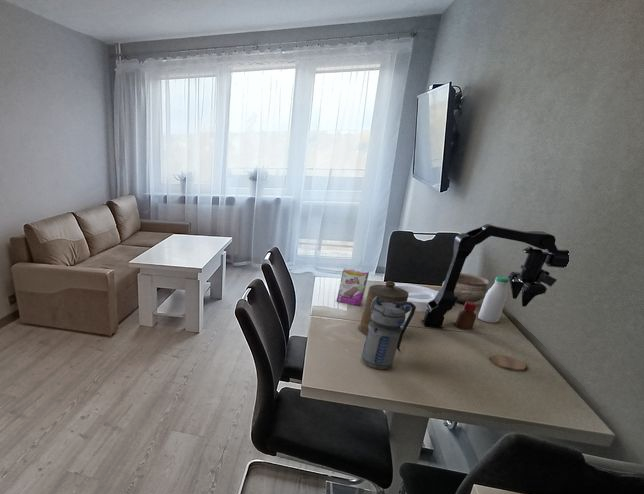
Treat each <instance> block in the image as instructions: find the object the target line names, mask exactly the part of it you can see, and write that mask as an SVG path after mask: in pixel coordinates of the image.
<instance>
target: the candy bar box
mask: <svg viewBox="0 0 644 494" xmlns="http://www.w3.org/2000/svg"><path fill="white" fill-rule="evenodd" d="M369 274H370V272H369V271H367V270H361V269H356V268H355V269H354V268H349V267H344V268H343V270H342V273H341V278H340V282H339V288H338V293H337V298H336V302H337V303H343V304H347V305H352V306H356V307H361V305H362V304H363V300H364V295H365V292H366V287H367V283H368V279H369Z"/></svg>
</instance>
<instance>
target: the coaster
mask: <svg viewBox="0 0 644 494" xmlns="http://www.w3.org/2000/svg"><path fill="white" fill-rule="evenodd" d="M490 360H491V362H492V363H493V364H494V365H496V366H497V367H500V368H502V369H505V370H509V371H513V372H523V371H525V370H526V368H527V365H526V364H525V362H523V361H521V360H519V359H517V358H514V357H511V356H507V355H500V354H499V355H498V354H497V355H493V356H491V359H490Z"/></svg>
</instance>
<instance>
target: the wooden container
mask: <svg viewBox="0 0 644 494" xmlns="http://www.w3.org/2000/svg"><path fill="white" fill-rule="evenodd" d="M395 283H396V282H394V281H392V280H387V281H386V282H385V284H386V285H384V284H373V285H370V286H369V287H368V291H367V295H366V299H365V303H364V307H363V310H362V315H361V318H360V323H359V330H360V331H361V333H363V334H365V335H367V332H368V327H369V323H370V322H371V321H372V319H371V314H372V312H371V304H372V300H373V299H374V298H375V297H376V296H379V300H389V303H392V302H391V301H394V302H403V301H406V302H407V299H408V295H409V294H408V292H407V291H405V290H403V289H401V288H398V287H394V286H395ZM400 306H401V307H403V305H400Z"/></svg>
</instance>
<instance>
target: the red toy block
mask: <svg viewBox="0 0 644 494" xmlns="http://www.w3.org/2000/svg"><path fill="white" fill-rule="evenodd" d="M477 305H478V304H477V302H470V301H466V302H465V304H463V309H462V310H466V311H471V312H474V313H475V311H476V309H477Z"/></svg>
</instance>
